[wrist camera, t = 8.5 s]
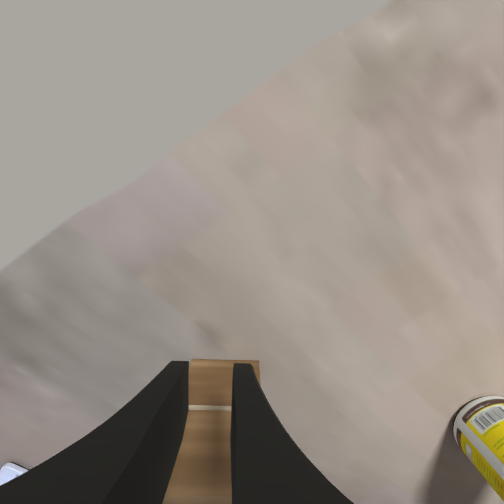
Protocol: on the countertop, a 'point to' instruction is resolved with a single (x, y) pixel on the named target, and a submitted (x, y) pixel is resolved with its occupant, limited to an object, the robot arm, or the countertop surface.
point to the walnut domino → (206, 436)
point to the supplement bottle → (483, 438)
